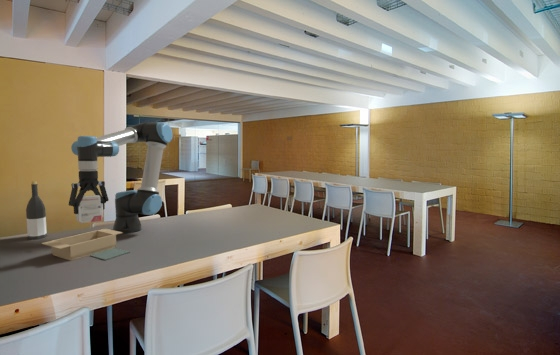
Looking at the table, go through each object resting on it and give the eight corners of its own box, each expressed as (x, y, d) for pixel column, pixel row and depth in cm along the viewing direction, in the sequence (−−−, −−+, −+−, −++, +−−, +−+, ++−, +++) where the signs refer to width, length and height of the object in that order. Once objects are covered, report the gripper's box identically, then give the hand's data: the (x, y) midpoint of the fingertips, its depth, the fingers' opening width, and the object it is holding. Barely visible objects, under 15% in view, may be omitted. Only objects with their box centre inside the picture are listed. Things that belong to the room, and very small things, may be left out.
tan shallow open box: (105, 240, 166) (104, 228, 166) (123, 245, 159) (123, 232, 159) (42, 257, 141) (41, 243, 140) (61, 263, 134) (60, 248, 133)
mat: (114, 248, 154) (114, 247, 154) (129, 252, 149) (129, 251, 149) (90, 255, 143) (90, 255, 143) (105, 260, 138) (105, 259, 138)
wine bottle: (28, 240, 165) (24, 182, 162) (27, 236, 171) (24, 181, 168) (47, 237, 170) (44, 181, 167) (46, 234, 176) (43, 180, 173)
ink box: (100, 219, 152) (99, 194, 151) (101, 221, 148) (100, 195, 147) (78, 221, 147) (77, 195, 146) (79, 223, 143) (78, 197, 142)
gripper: (106, 168, 157) (108, 213, 159) (57, 171, 137) (59, 222, 140) (116, 169, 153) (117, 215, 155) (66, 172, 134) (68, 224, 136)
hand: (90, 218), depth 147 cm, fingers closed on ink box, 9 cm apart
